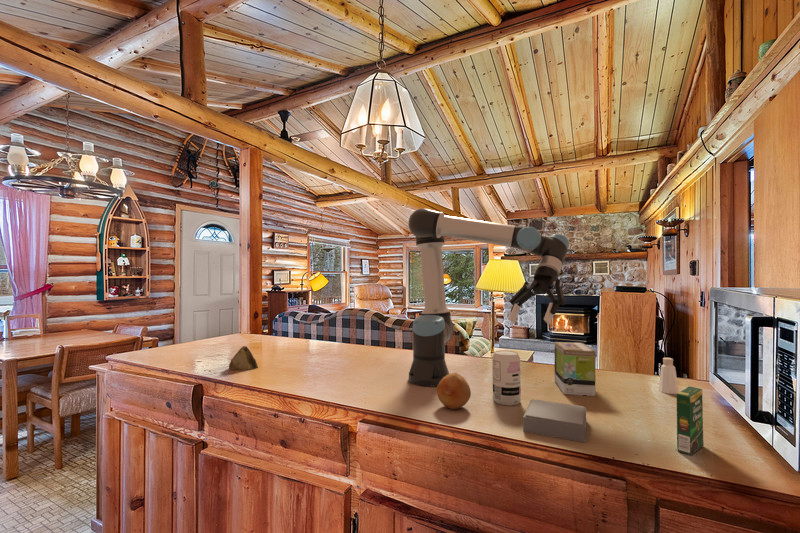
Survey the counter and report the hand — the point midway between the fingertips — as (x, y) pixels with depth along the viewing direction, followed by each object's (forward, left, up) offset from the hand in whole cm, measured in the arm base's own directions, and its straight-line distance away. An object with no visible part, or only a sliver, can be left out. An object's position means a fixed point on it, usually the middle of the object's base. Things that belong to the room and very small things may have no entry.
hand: (528, 321), depth 123 cm
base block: (+10, -24, -23) cm, 35 cm away
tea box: (+13, +12, -24) cm, 29 cm away
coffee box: (+38, -24, -24) cm, 51 cm away
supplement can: (-5, -11, -24) cm, 27 cm away
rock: (-112, -19, -24) cm, 116 cm away
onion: (-18, -23, -24) cm, 38 cm away
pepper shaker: (+41, +22, -24) cm, 52 cm away
